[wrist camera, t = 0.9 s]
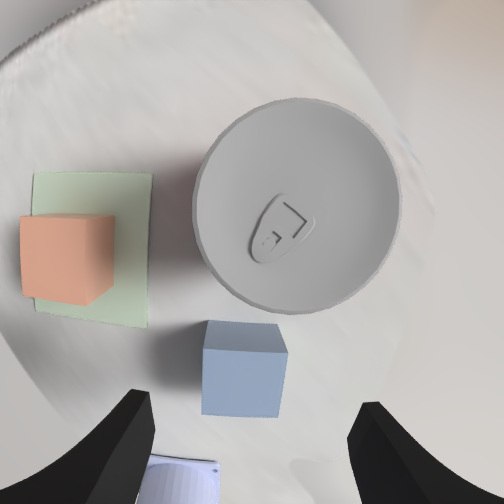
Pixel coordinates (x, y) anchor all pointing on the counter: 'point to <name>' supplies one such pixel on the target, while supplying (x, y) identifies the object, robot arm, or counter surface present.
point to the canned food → (296, 206)
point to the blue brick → (243, 369)
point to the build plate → (125, 237)
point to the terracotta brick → (67, 256)
